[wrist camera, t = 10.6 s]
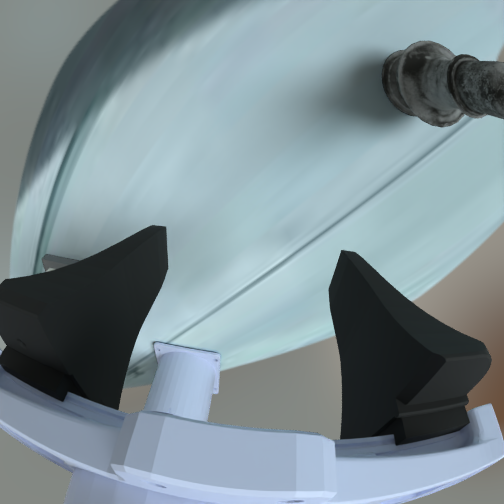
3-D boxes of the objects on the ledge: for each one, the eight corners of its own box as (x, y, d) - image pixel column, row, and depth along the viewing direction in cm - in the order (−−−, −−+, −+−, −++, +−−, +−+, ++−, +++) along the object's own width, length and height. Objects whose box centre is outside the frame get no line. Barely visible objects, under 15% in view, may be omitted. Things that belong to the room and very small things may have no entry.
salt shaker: (447, 120, 16) (561, 167, 6) (383, 120, 17) (493, 165, 7) (438, 50, 13) (554, 47, 3) (371, 44, 14) (475, 9, 4)
